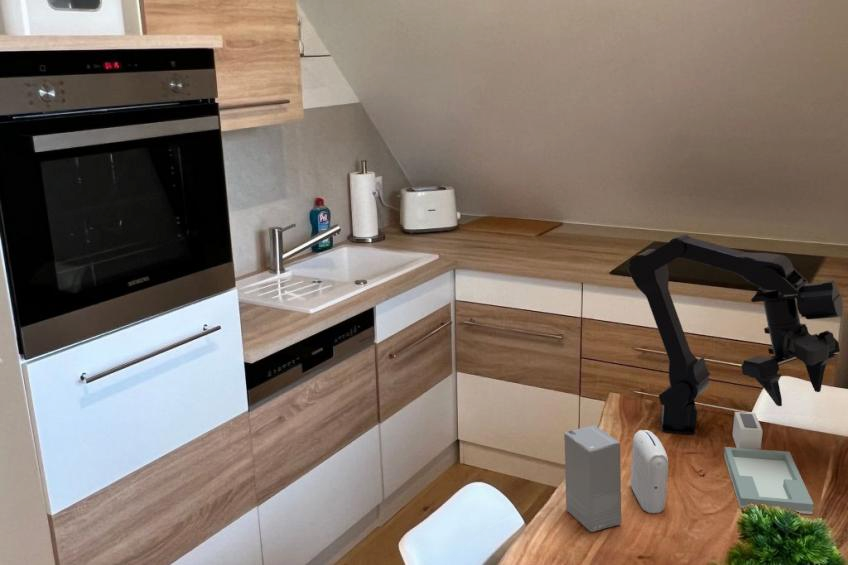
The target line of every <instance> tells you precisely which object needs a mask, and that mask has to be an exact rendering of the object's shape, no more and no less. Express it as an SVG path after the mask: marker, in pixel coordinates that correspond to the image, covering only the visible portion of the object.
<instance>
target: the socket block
mask: <svg viewBox="0 0 848 565" xmlns="http://www.w3.org/2000/svg"><path fill="white" fill-rule="evenodd" d="M733 417H734V418H733V426H732V438H733V440H734V444H735V448H745V449H759V450H762V442H763V441H762V439H763V428H762V425H761V424H760V421H759V420H758V417H757V414H756V413H755V412H744V411H743V412H741V411H734V416H733Z"/></svg>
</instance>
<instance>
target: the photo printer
mask: <svg viewBox="0 0 848 565" xmlns="http://www.w3.org/2000/svg"><path fill="white" fill-rule="evenodd" d="M631 453H632V454H631V468H630V478H629V479H630V488H631V490H632V492H633V493H634V496H635V498H636V500H637V502H638V503H639V506H640V507H641V508H642V510H643V511H645V512H647V513H648V514H649V513H650V514H660V513H661V512H662V511H664V510H665V507H666V496H667V486H668V474H669V472H668V471H669V460H668V459H669V458H668V455H667V452H666V450H665V447H664V446H663V444H662V442H661V440H660V439H659V438H658V436H656V434H655V433H653V432H652V431H650V430H647V429H645V430H643V429H639V430H638V431H637V432H635V433H634V435H633V439H632V452H631Z"/></svg>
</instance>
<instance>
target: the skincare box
mask: <svg viewBox="0 0 848 565" xmlns="http://www.w3.org/2000/svg"><path fill="white" fill-rule="evenodd" d="M563 434H564V437H563V438H564V439H563V440H564V467H565V470H564V471H565V507H566V508H565V510H566V511H567V512H568V513H569V514H570V515H571V516H572V517H573V518H574V519H575V520H577V521H578V522H579V523H580V524H581V525H582V526H583V527H585V528H586V529H587V531H589V532H590V533H594V532H597V531H600V530H603V529H606V528H607V529H608V528H611V527H615V526H619V525H621V523H622V480H621V477H622V476H621V475H622V474H621V473H622V472H621V471H622V469H621V468H622V467H621V442H620V441H618V440H617V439H616V438H614V437H613V436H611V435H609V433H607V432H606V431H604V430H603V429H602V428H600V427H599V426H597V425H596V424H592V425H588V426H584V427H581V428H577V429H573V430H569V431H565V432H563Z"/></svg>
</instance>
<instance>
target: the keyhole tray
mask: <svg viewBox="0 0 848 565" xmlns="http://www.w3.org/2000/svg"><path fill="white" fill-rule="evenodd" d="M723 457H724V460H725V464H726V467H727V469H728V473H729V477H730V479H731V483H732V486H733V489H734V492H735V496H736V499H737V502H738V505H739V508H740V509H745V508H744V507H745V506H746V505H747V504H751V503H752V504H765V505H768V506H773V505H774V506H779V507H782V508H791V509H793V510H795V511H797V512H799V513H798V514H803V515H805V514H806V515H813V513H814V505H815V504H814V501H813V500H812V497H811V495H810V494H809V491H808V489H807V487H806V483H804V480H803V478H802V476H801V473H800V471H799V469H798V467H797V465H796V462H795V461H794V459H793V456H792V454H791V452H790V451H785V450H783V451H782V450H771V449H761V450H759V449H745V448H737V447H732V446H731V447H729V446H725V447H724V455H723Z"/></svg>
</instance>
